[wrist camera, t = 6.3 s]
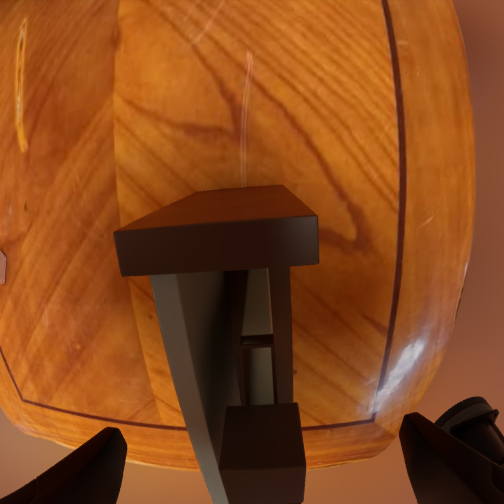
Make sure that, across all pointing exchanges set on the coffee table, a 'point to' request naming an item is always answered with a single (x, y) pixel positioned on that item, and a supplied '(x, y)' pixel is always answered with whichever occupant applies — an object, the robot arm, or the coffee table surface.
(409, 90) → the coffee table surface
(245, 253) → the window frame
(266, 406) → the pane
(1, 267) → the perfume bottle
